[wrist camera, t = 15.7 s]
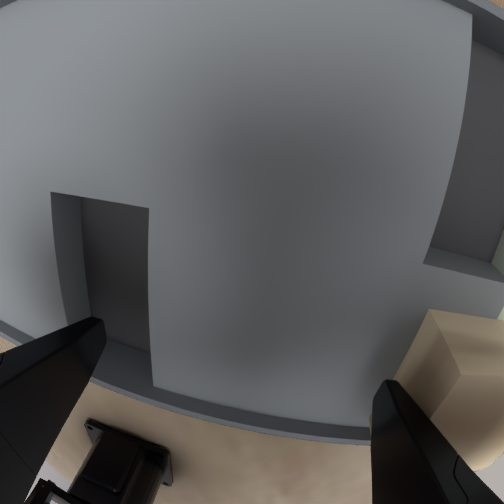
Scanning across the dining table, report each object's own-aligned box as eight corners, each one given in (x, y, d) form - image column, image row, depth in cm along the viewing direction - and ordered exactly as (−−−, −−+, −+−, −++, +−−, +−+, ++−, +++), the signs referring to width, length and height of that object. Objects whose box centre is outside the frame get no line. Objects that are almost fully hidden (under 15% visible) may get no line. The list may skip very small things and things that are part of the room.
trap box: (490, 404, 13) (504, 438, 10) (14, 303, 15) (-14, 327, 12) (604, 127, 6) (641, 137, 3) (8, 15, 8) (-32, 11, 6)
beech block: (469, 418, 11) (485, 468, 8) (368, 418, 11) (374, 479, 8) (533, 324, 8) (568, 373, 6) (428, 308, 9) (461, 374, 6)
